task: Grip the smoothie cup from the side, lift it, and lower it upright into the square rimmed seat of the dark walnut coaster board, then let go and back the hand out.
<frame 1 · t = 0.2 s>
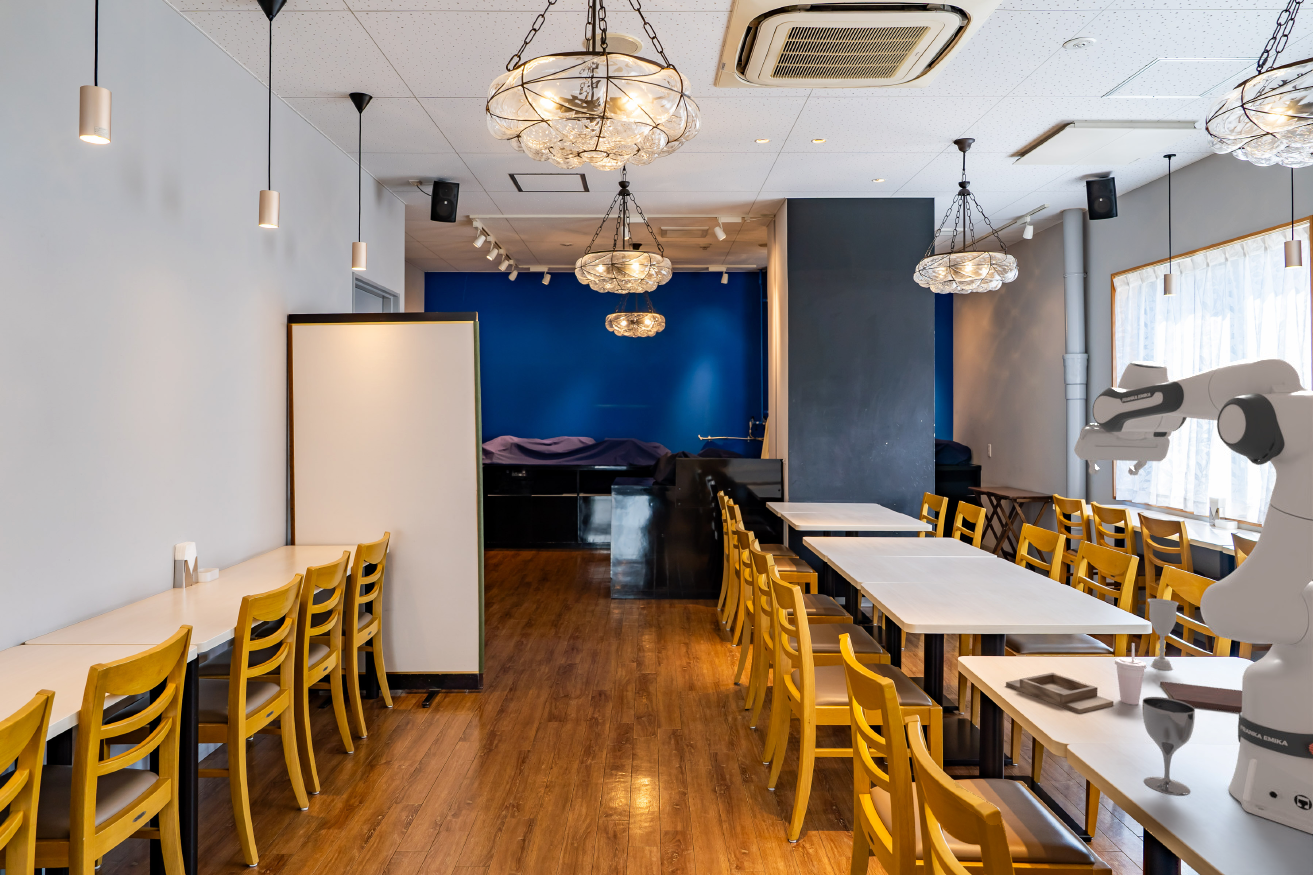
hand: (1112, 473, 189), 54 cm above the table, tool tilted 30°, fingers open, 8 cm apart
wine glass: (1166, 786, 139), on the table
chalice: (1161, 667, 208), on the table
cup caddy: (1057, 695, 186), on the table
smoothie: (1129, 702, 182), on the table
notebook: (1215, 703, 183), on the table
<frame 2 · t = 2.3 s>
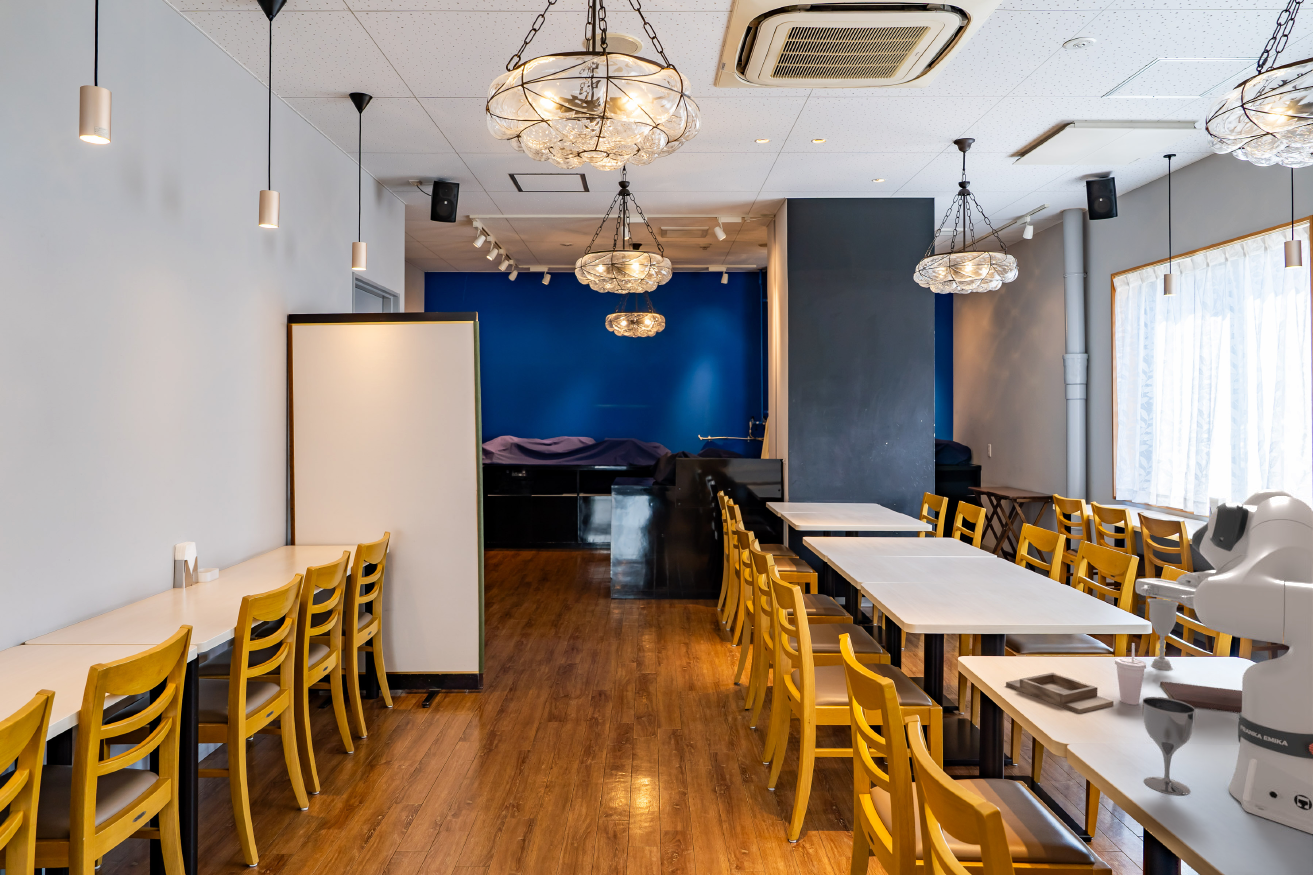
hand: (1162, 595, 187), 24 cm above the table, tool horizontal, fingers open, 8 cm apart
nothing on the table moved.
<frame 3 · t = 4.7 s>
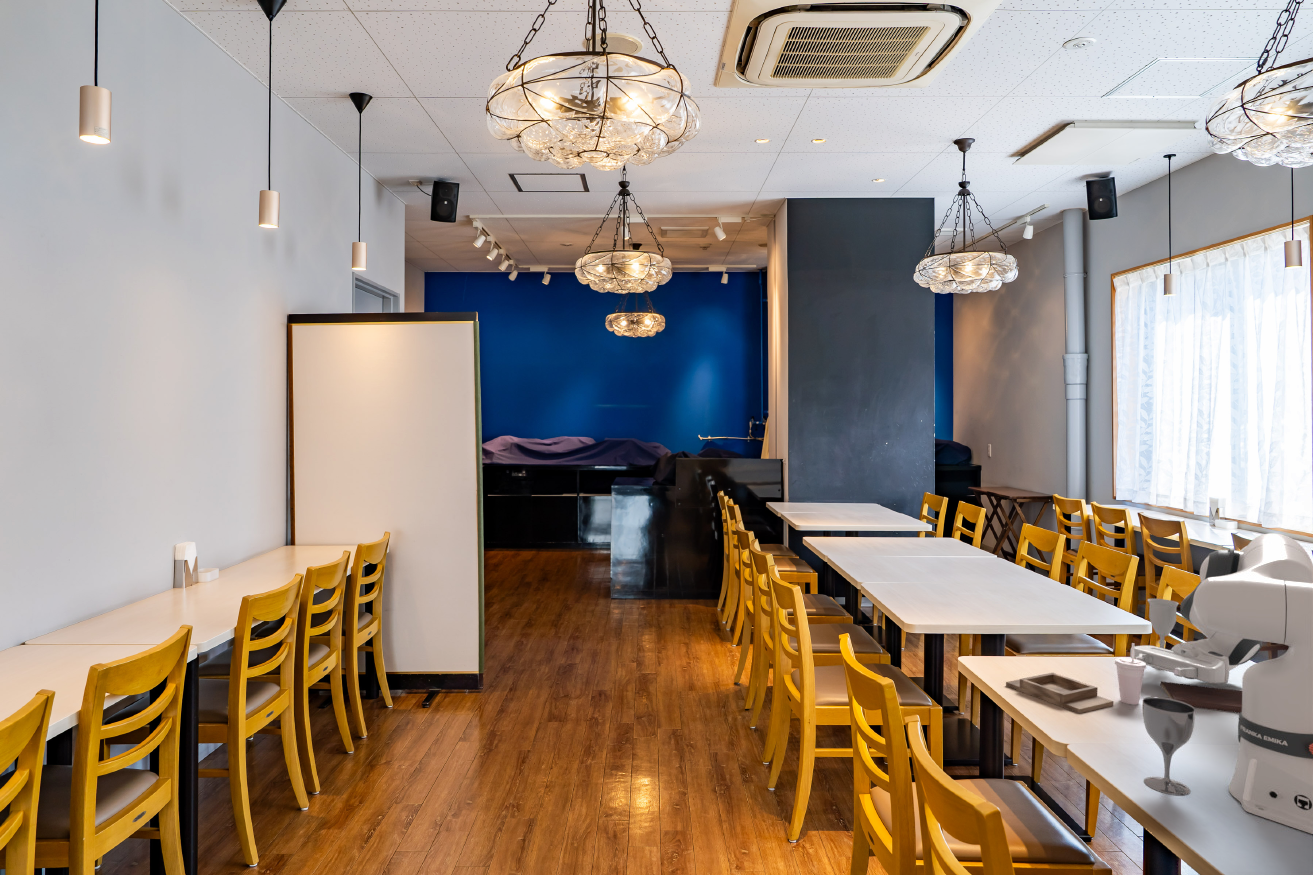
hand: (1157, 666, 186), 7 cm above the table, tool horizontal, fingers open, 8 cm apart
nothing on the table moved.
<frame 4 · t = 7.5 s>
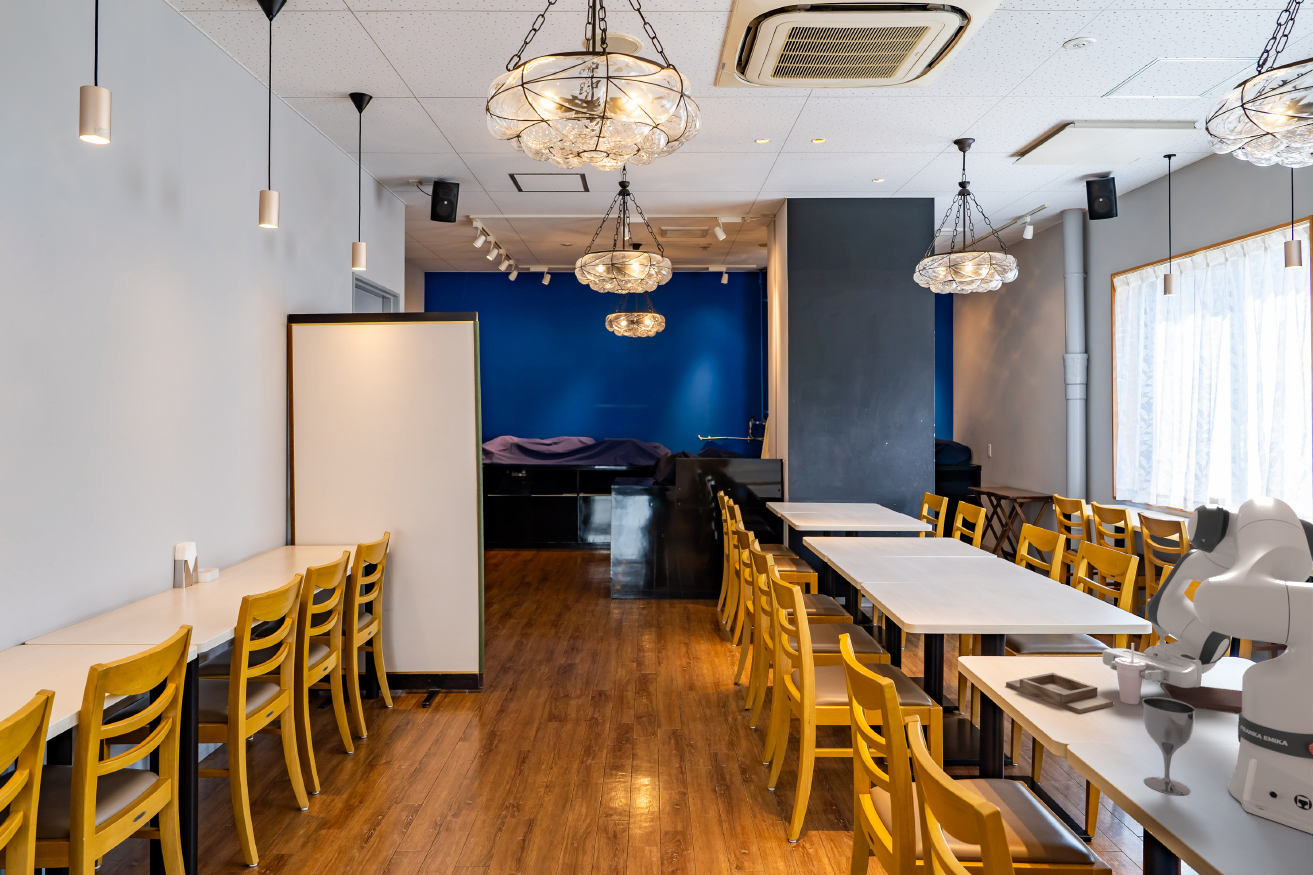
hand: (1128, 670, 181), 8 cm above the table, tool horizontal, fingers closed on smoothie, 6 cm apart
smoothie: (1129, 702, 182), on the table, touching gripper
everything else where it was.
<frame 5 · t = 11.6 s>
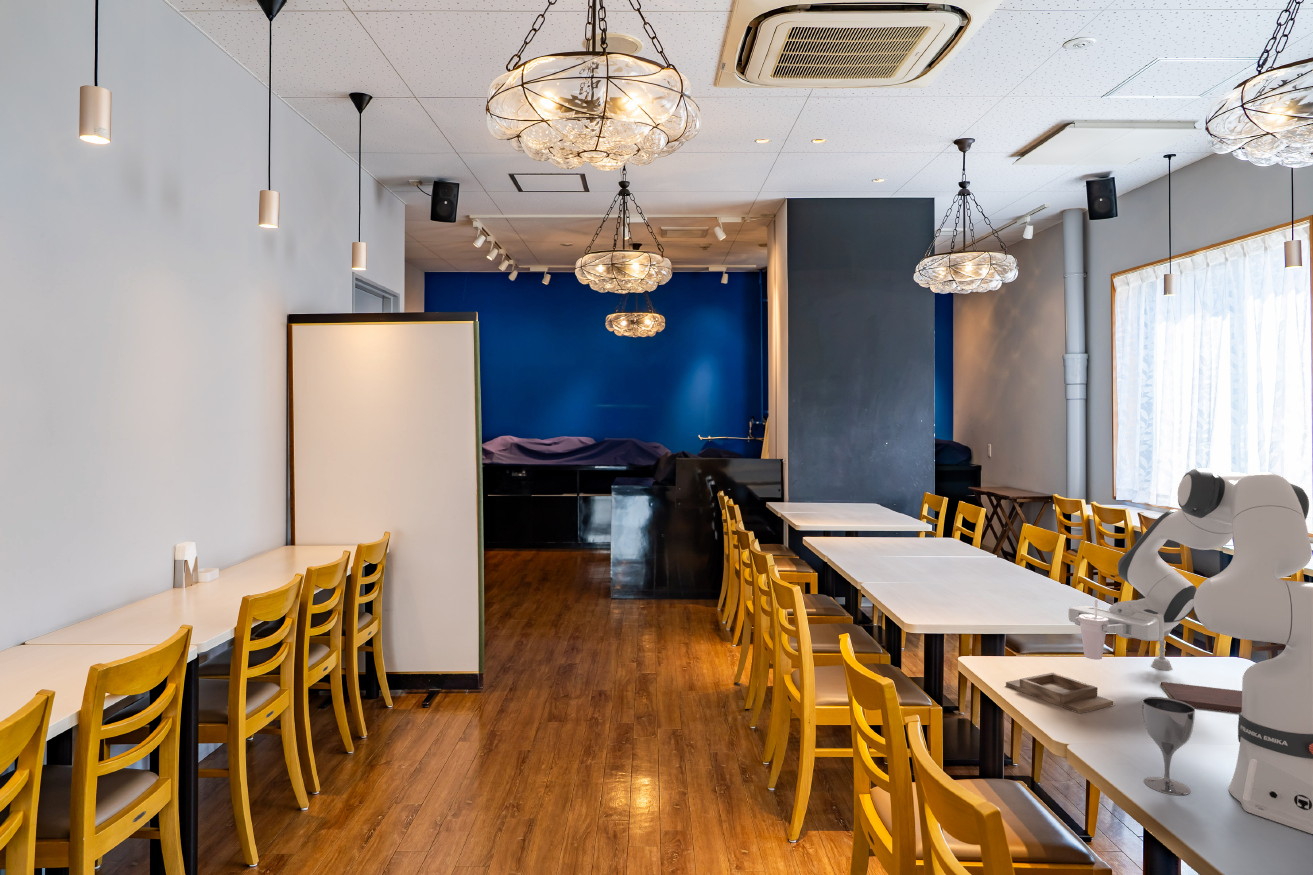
hand: (1091, 625, 183), 18 cm above the table, tool horizontal, fingers closed on smoothie, 6 cm apart
smoothie: (1093, 657, 184), point 10 cm above the table, touching gripper
everything else where it was.
when the fingers open (10 cm above the table, at t = 15.7 s): smoothie moves 3 cm, resting on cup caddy.
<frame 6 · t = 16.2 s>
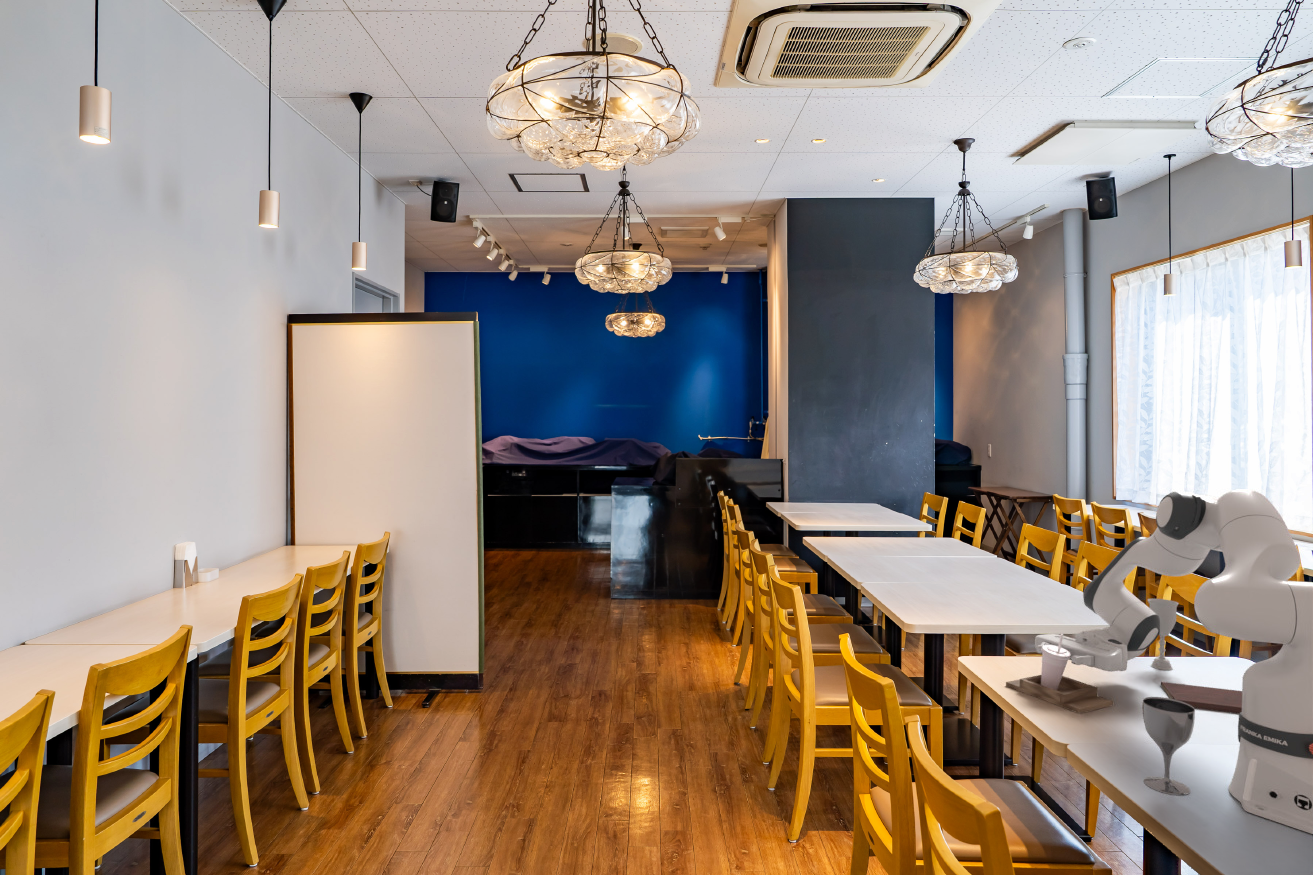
hand: (1056, 655, 185), 10 cm above the table, tool horizontal, fingers open, 8 cm apart
smoothie: (1048, 687, 188), point 1 cm above the table, touching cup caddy, gripper
everything else where it was.
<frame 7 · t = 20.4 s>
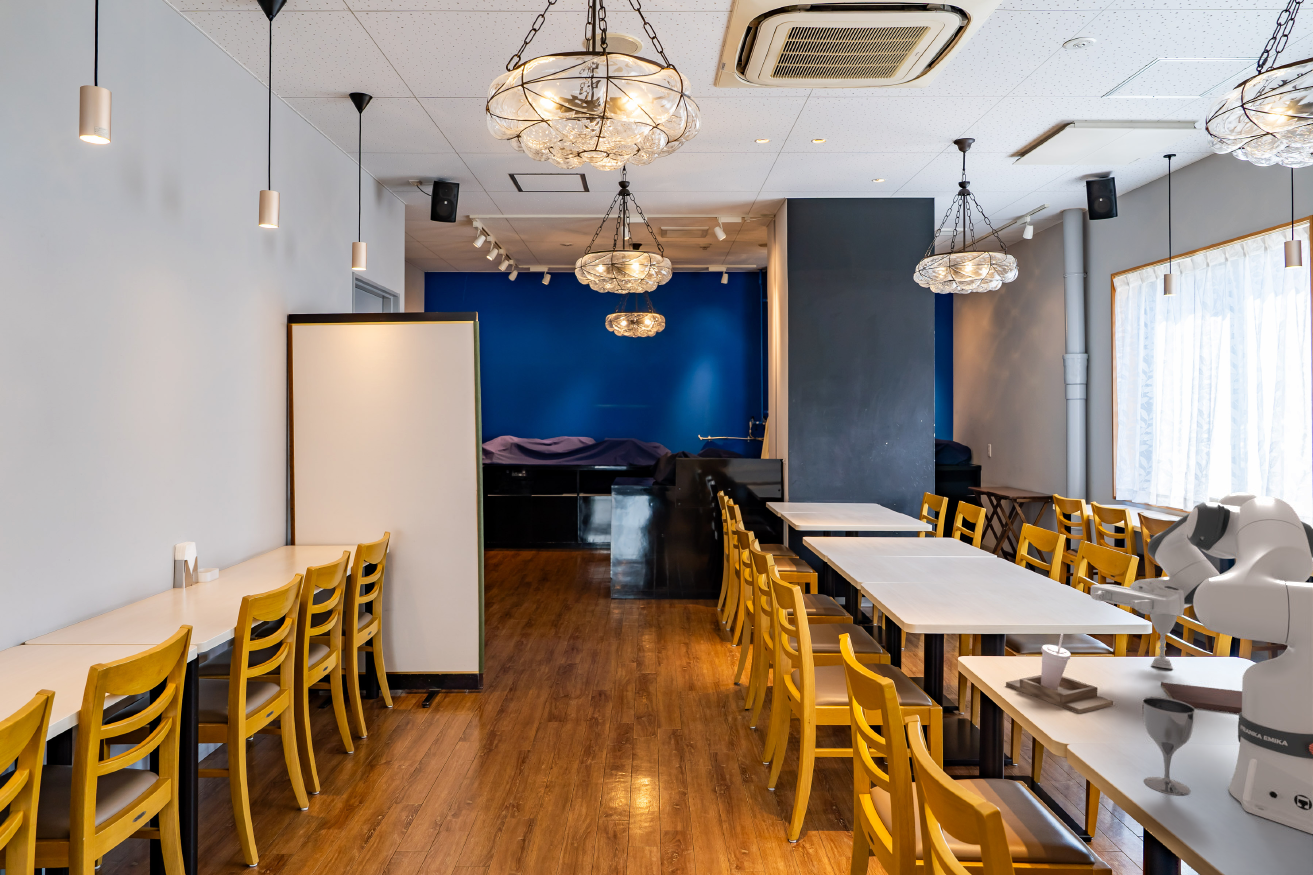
hand: (1114, 600, 191), 22 cm above the table, tool horizontal, fingers open, 8 cm apart
smoothie: (1048, 687, 188), point 1 cm above the table, touching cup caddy
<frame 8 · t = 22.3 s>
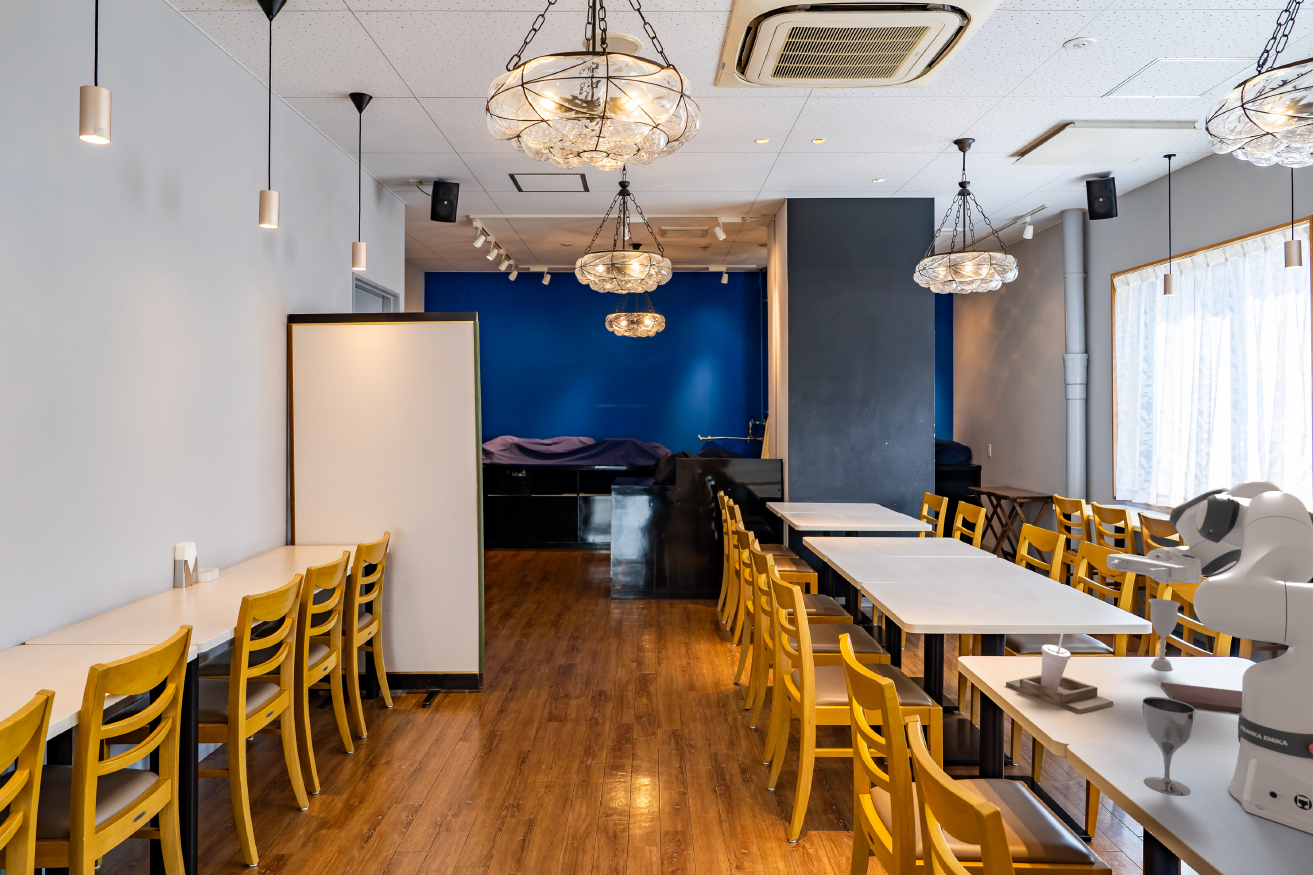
hand: (1131, 569, 191), 30 cm above the table, tool horizontal, fingers open, 8 cm apart
at the end: smoothie 2.5 cm off-centre on the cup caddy, point 1.2 cm above the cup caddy's base; smoothie tilted 11°; the gripper is holding nothing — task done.
